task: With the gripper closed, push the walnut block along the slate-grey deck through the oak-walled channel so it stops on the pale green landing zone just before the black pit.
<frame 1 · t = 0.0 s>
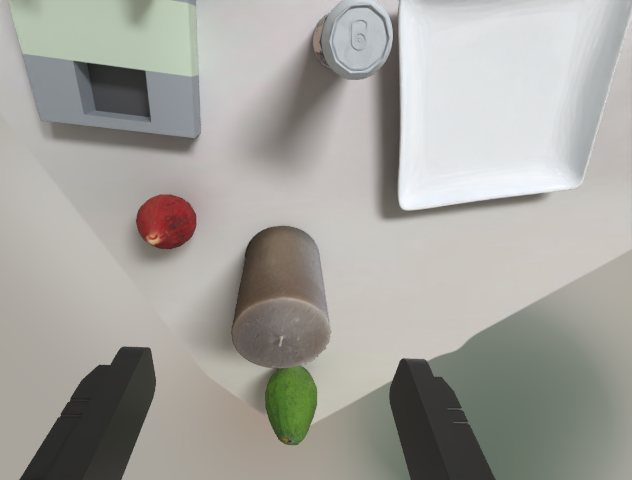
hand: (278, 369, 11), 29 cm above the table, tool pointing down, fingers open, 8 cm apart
pillar candle: (284, 256, 44), on the table
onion: (178, 206, 39), on the table
salad plate: (487, 98, 36), on the table
beer can: (337, 41, 32), on the table
avocado: (291, 368, 55), on the table
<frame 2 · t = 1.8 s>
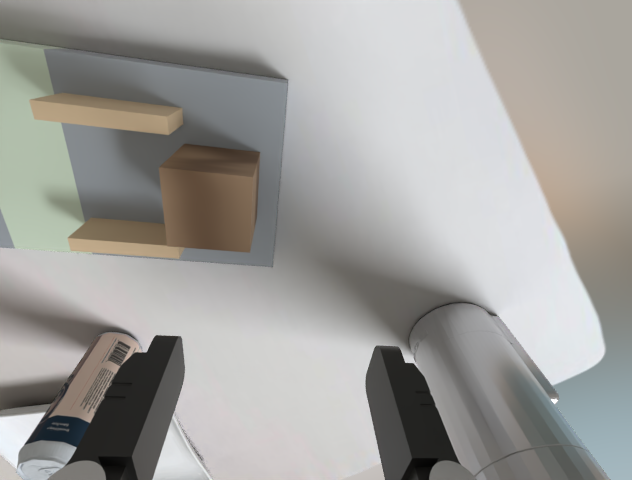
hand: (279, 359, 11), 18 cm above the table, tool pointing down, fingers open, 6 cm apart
block: (223, 182, 24), point 2 cm above the table, touching deck
salad plate: (118, 432, 43), on the table
deck: (105, 158, 25), on the table
beer can: (120, 343, 35), on the table
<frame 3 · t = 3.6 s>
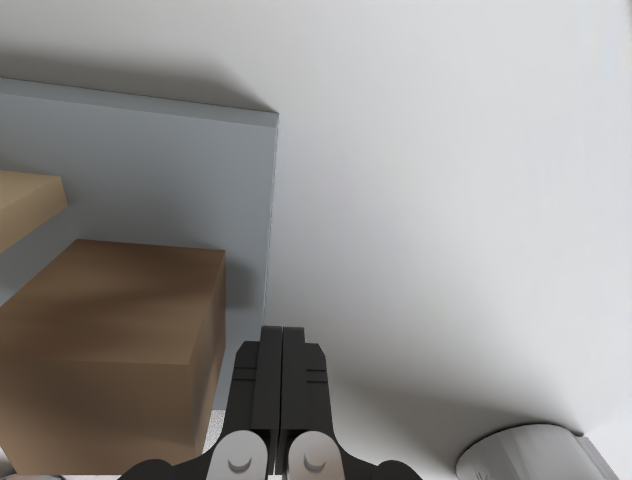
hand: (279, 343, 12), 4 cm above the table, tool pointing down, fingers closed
block: (160, 299, 13), point 2 cm above the table, touching deck, gripper
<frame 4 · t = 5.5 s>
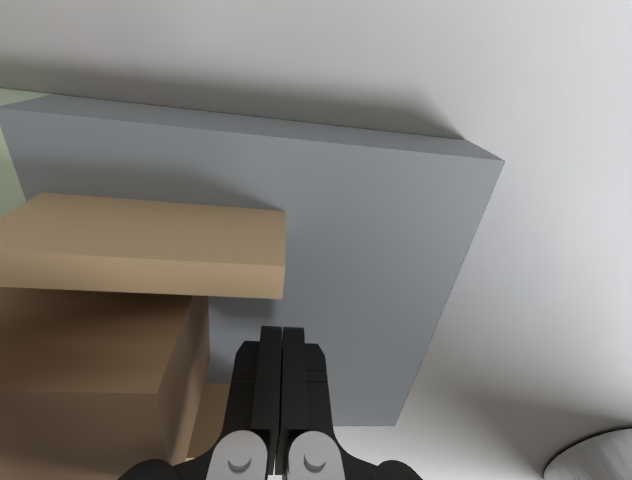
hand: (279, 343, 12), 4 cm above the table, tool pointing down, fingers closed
block: (137, 309, 12), point 3 cm above the table, touching deck, gripper
deck: (124, 274, 14), on the table
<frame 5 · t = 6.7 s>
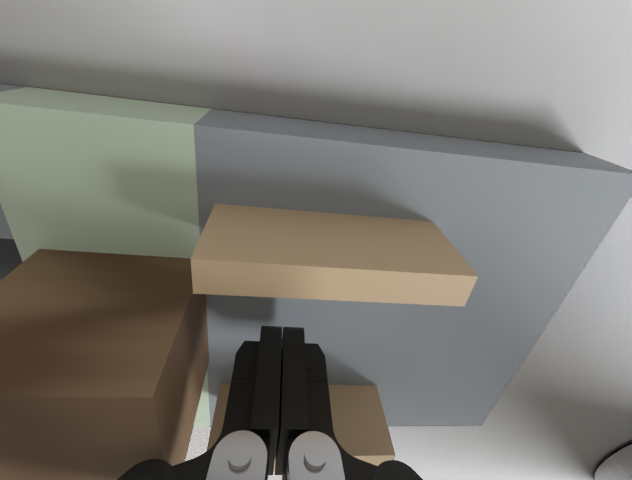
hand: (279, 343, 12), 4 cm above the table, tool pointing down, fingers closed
block: (135, 312, 12), point 2 cm above the table, touching deck, gripper
deck: (239, 279, 15), on the table
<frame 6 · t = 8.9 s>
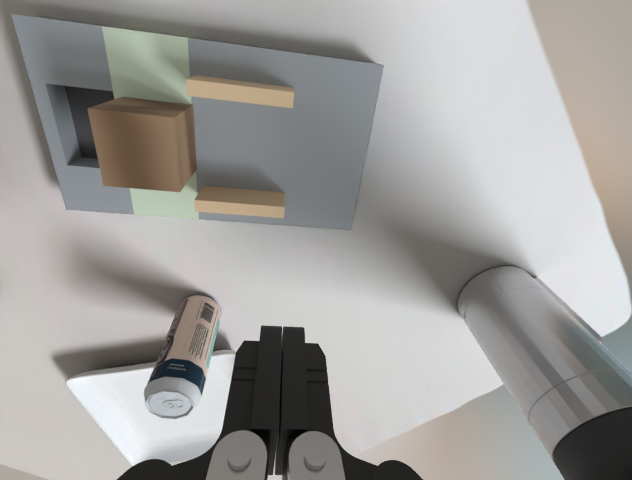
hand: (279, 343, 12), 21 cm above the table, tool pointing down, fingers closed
block: (161, 135, 26), point 2 cm above the table, touching deck
salad plate: (186, 395, 47), on the table
deck: (212, 134, 29), on the table
beer can: (201, 307, 38), on the table
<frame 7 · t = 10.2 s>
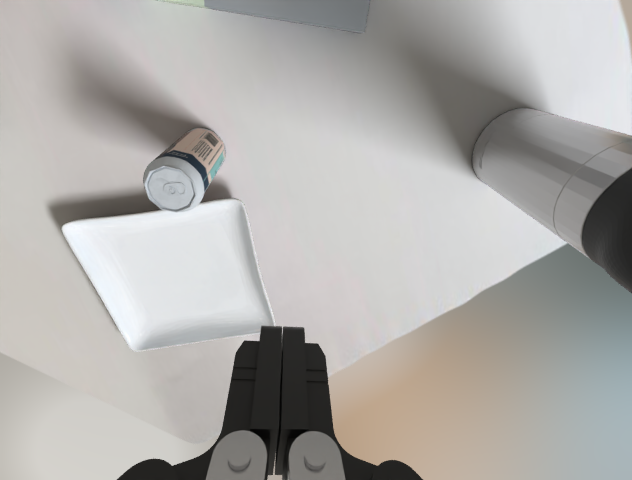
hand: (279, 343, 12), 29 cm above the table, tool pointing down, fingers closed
salad plate: (187, 269, 45), on the table
beer can: (204, 148, 37), on the table
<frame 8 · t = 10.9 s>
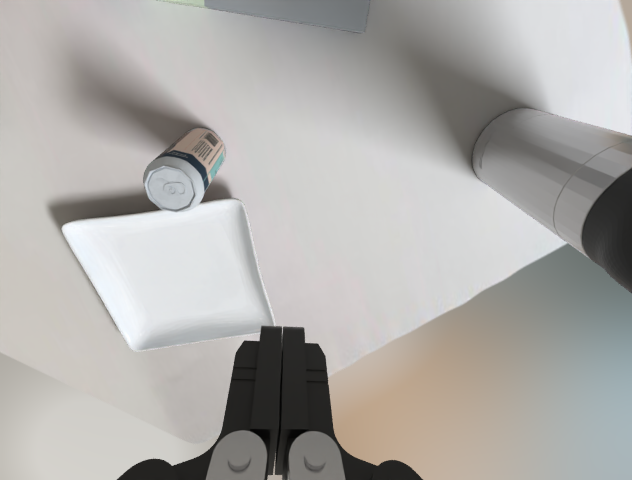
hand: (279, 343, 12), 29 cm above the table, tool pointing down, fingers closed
salad plate: (187, 269, 45), on the table
beer can: (204, 148, 37), on the table
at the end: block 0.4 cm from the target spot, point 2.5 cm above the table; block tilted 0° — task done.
